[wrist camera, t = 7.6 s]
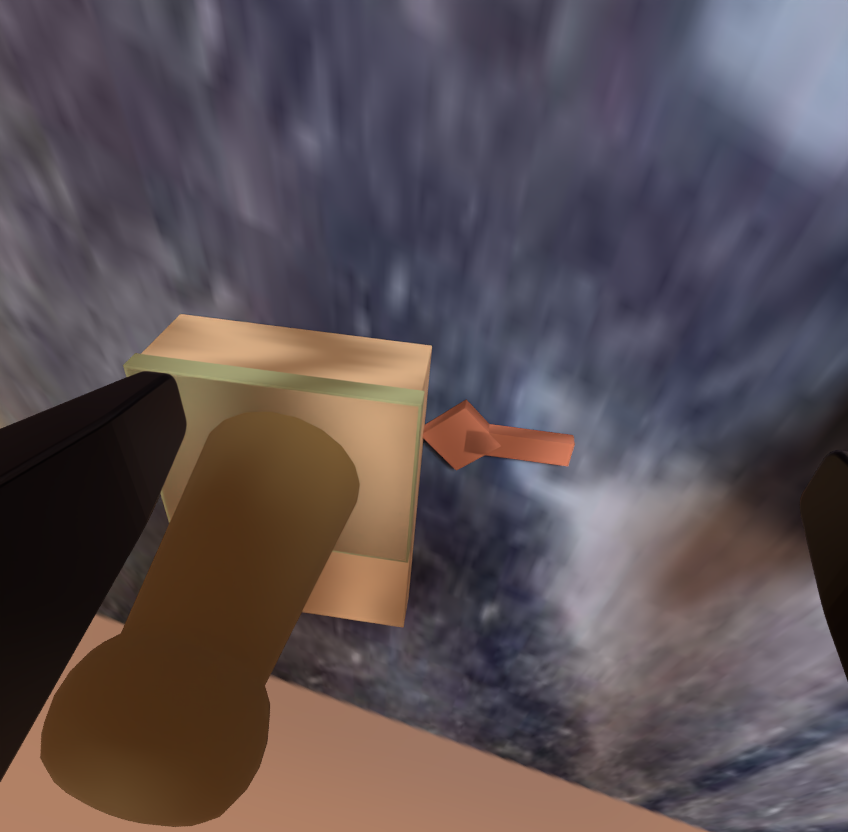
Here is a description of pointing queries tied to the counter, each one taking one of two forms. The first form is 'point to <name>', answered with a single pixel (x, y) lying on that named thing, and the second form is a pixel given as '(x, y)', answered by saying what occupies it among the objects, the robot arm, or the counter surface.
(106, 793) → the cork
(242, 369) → the tan piece
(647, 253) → the counter surface
